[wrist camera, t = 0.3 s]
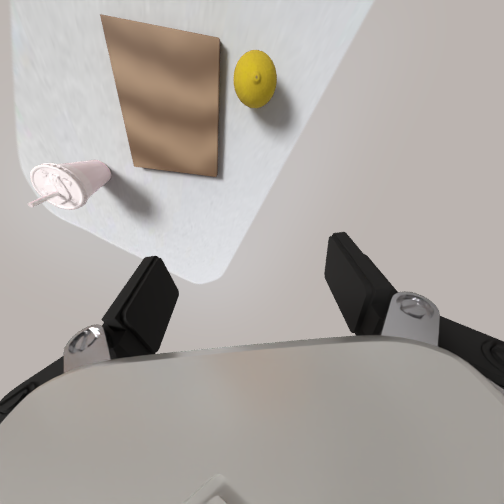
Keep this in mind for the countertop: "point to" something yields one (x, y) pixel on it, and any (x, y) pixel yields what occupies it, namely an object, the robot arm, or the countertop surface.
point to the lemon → (255, 79)
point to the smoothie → (68, 182)
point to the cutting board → (167, 94)
